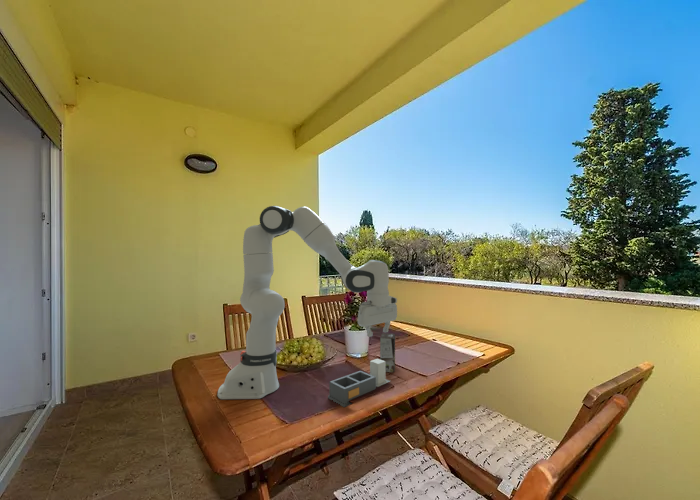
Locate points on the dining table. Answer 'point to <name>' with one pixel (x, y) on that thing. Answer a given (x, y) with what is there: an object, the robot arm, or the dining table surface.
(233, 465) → the dining table surface
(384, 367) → the peg
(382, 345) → the coffee box
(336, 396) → the slot rack
